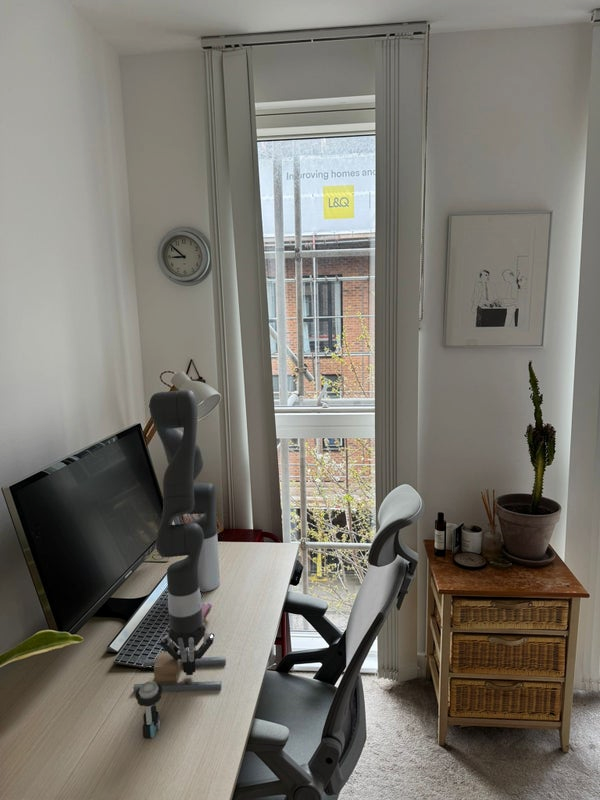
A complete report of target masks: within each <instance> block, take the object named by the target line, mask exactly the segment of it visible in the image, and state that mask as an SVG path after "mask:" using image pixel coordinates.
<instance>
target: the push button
mask: <svg viewBox="0 0 600 800" xmlns="http://www.w3.org/2000/svg"><path fill="white" fill-rule="evenodd" d="M141 684H142V685H141V687H139V688H138V690H137V691H136V693H134V696H135V699H136V701H137V704H138V705H139V706H141V707H142V706H143V707H144V708H145V711H144V713H143V717H142V718H143V725H142V736H143V739H151V738H152V739H153V738H155V734H156V731H157V729H158V730H160V727H161V721H160V719H159V718H160V714H159V709H158V708H157V706H156V704H157V703H158V702H159V701H160V700H161V699H162V694H163V692H162V686H161V685H160V684H158V683H156V682H155V681H152V680H151V681H146V682H144V683H141Z"/></svg>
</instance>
